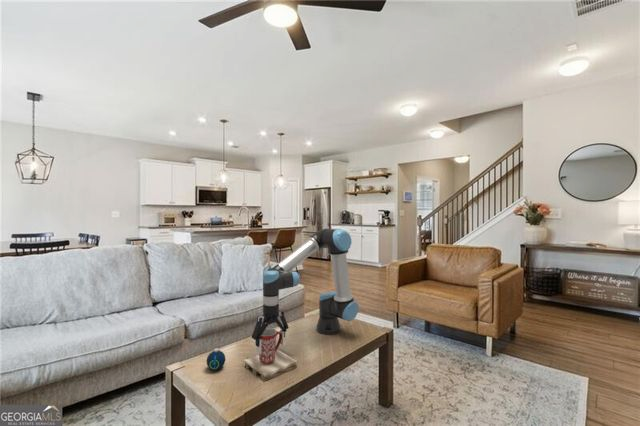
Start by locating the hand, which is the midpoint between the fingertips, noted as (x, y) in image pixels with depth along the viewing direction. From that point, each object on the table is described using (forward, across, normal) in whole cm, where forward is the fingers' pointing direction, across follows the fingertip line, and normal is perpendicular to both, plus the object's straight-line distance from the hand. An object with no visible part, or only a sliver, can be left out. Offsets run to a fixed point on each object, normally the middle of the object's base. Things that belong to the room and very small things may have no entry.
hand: (270, 348), depth 147 cm
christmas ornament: (+9, +20, -16) cm, 27 cm away
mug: (+5, 0, 0) cm, 5 cm away
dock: (+9, 0, 0) cm, 9 cm away
